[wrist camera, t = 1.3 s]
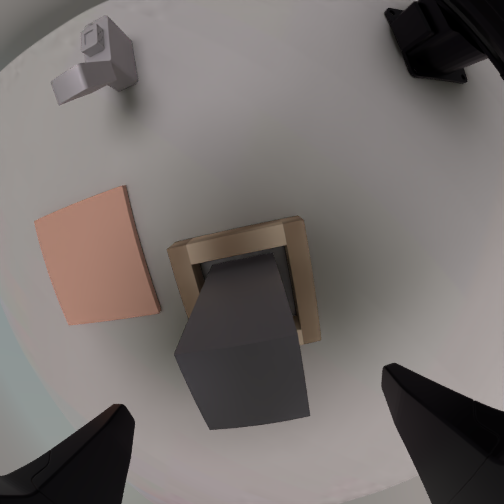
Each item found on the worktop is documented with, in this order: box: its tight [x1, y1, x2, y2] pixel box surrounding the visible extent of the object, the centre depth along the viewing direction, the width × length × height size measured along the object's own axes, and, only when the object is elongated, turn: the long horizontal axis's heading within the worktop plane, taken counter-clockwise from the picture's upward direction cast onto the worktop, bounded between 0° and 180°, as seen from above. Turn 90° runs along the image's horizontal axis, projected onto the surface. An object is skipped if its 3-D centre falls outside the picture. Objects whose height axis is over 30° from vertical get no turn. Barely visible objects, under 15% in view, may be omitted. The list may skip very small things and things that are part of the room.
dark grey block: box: [174, 252, 310, 430], centre depth 14 cm, size 4×4×10 cm
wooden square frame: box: [167, 216, 321, 345], centre depth 17 cm, size 8×8×2 cm
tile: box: [34, 185, 161, 325], centre depth 18 cm, size 9×9×1 cm
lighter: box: [51, 15, 138, 105], centre depth 11 cm, size 7×2×8 cm, turn 15°
